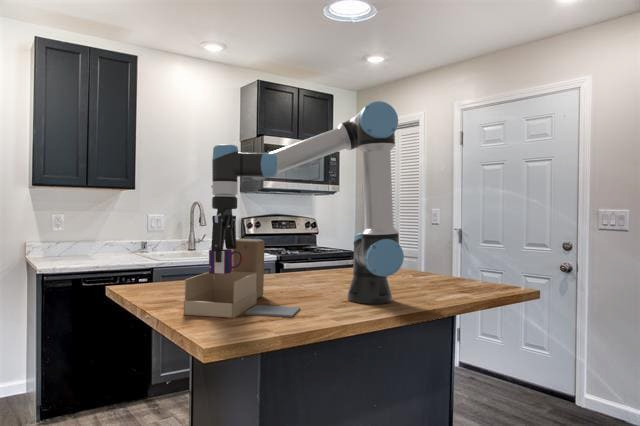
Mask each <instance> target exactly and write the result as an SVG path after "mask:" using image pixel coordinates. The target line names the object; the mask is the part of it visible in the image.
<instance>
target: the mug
mask: <svg viewBox="0 0 640 426" xmlns="http://www.w3.org/2000/svg"><path fill="white" fill-rule="evenodd" d="M223 251H224V273H223V274H226V273H231V270H232V269H233V268H236V267H238V266H239V265H240V264H241V262H242V255H241V253H240V252H238V251H234V252H231V250H228V249H226V248H223ZM234 253H239V255H240V262H239V263H238V264H237V265H236V266H233V267H232V255H233V254H234ZM208 272H209V273H211V274H221V273H215V251H212V250H211V249H209V250H208Z"/></svg>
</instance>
